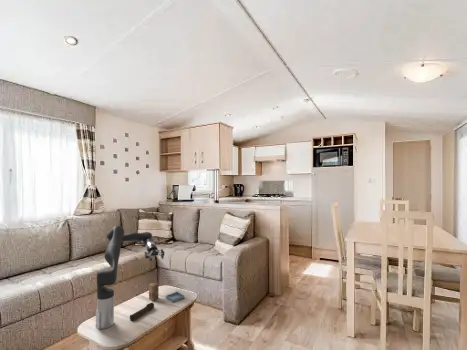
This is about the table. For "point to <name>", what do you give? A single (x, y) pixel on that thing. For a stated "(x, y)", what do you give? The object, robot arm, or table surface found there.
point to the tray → (175, 296)
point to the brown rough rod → (142, 311)
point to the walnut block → (153, 291)
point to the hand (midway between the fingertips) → (157, 258)
